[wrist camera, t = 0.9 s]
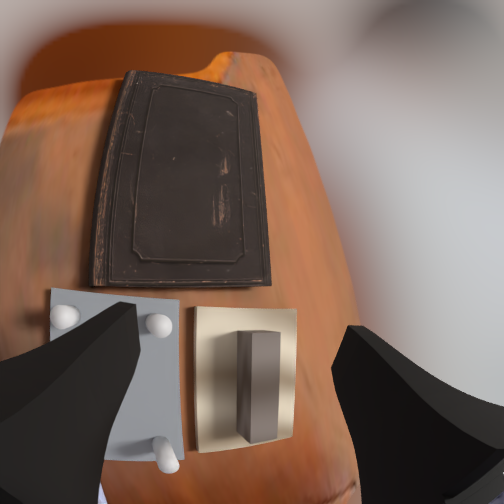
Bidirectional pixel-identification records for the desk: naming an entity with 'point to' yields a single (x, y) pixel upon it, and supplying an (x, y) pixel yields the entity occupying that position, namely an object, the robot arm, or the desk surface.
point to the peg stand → (137, 376)
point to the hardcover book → (181, 188)
